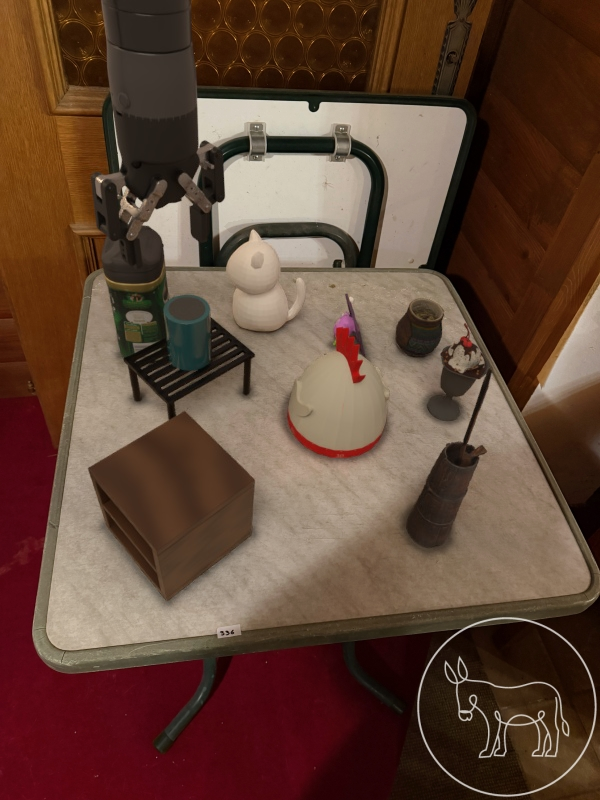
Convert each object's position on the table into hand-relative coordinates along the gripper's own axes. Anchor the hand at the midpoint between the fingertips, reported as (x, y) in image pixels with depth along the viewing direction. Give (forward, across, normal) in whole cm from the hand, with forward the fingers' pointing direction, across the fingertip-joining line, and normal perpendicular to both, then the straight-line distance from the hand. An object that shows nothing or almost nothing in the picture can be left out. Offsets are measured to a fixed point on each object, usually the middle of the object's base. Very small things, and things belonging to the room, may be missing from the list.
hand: (167, 251), depth 62 cm
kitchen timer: (+24, -14, +17) cm, 33 cm away
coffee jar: (+24, -2, -12) cm, 27 cm away
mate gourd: (+24, -35, +15) cm, 45 cm away
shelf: (+24, +13, +17) cm, 32 cm away
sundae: (+24, -28, +26) cm, 45 cm away
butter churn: (+24, -11, +37) cm, 46 cm away
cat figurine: (+24, -20, -5) cm, 32 cm away
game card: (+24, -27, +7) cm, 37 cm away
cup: (+16, -1, +1) cm, 16 cm away
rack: (+24, -1, +1) cm, 24 cm away
